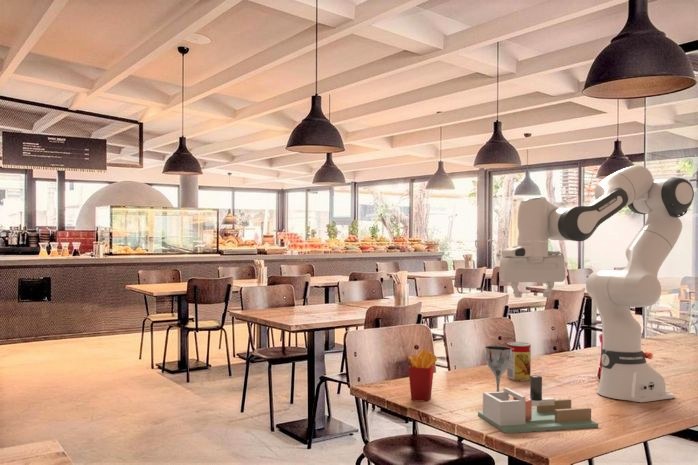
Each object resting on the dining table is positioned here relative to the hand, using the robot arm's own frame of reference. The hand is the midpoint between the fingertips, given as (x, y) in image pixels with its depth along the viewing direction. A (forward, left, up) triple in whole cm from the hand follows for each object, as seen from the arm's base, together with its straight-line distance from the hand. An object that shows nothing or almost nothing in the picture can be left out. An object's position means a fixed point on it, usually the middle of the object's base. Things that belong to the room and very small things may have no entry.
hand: (532, 297), depth 182 cm
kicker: (+9, +18, -30) cm, 36 cm away
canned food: (-12, -30, -31) cm, 45 cm away
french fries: (+30, -10, -31) cm, 44 cm away
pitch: (+9, +18, -31) cm, 37 cm away
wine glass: (+7, -8, -31) cm, 33 cm away
